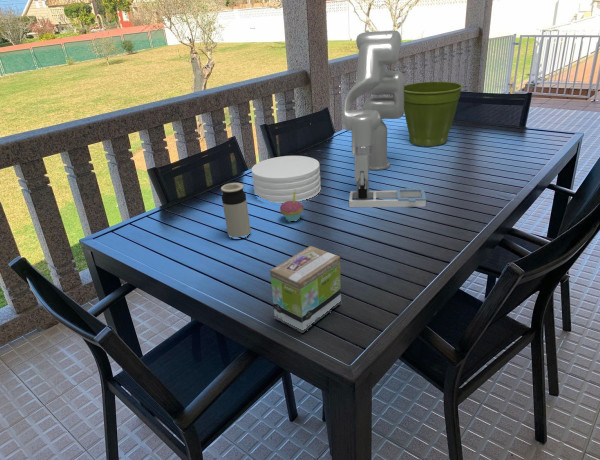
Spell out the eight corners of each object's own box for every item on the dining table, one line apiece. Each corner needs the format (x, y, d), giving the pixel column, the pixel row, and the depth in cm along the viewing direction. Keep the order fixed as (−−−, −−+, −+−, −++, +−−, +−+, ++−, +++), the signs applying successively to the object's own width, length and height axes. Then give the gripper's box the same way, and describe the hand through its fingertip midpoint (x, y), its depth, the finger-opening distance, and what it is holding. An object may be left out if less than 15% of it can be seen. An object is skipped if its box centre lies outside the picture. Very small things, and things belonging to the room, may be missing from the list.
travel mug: (241, 242, 149) (233, 192, 141) (223, 237, 153) (215, 189, 145) (255, 232, 155) (249, 184, 147) (238, 228, 159) (230, 181, 151)
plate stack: (330, 183, 193) (329, 157, 188) (304, 208, 170) (302, 180, 165) (274, 178, 204) (271, 154, 199) (242, 201, 182) (238, 174, 177)
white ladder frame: (350, 195, 178) (350, 188, 176) (422, 194, 173) (423, 187, 172) (349, 208, 166) (348, 201, 165) (426, 208, 162) (426, 200, 160)
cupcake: (307, 215, 164) (304, 185, 158) (299, 225, 157) (297, 194, 151) (285, 214, 167) (282, 184, 161) (277, 223, 159) (273, 193, 154)
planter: (355, 200, 173) (355, 175, 169) (367, 199, 173) (367, 174, 169) (358, 204, 169) (357, 179, 165) (370, 203, 169) (369, 178, 165)
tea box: (304, 336, 104) (299, 283, 97) (274, 320, 110) (267, 269, 103) (342, 304, 113) (340, 254, 107) (312, 291, 120) (309, 243, 113)
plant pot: (398, 136, 251) (399, 83, 238) (452, 133, 246) (456, 80, 234) (401, 151, 225) (403, 93, 212) (462, 149, 220) (467, 89, 207)
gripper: (352, 143, 170) (353, 187, 178) (350, 156, 155) (352, 204, 163) (372, 142, 169) (372, 187, 177) (372, 156, 154) (372, 204, 162)
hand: (362, 195), depth 170 cm, fingers closed on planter, 4 cm apart
